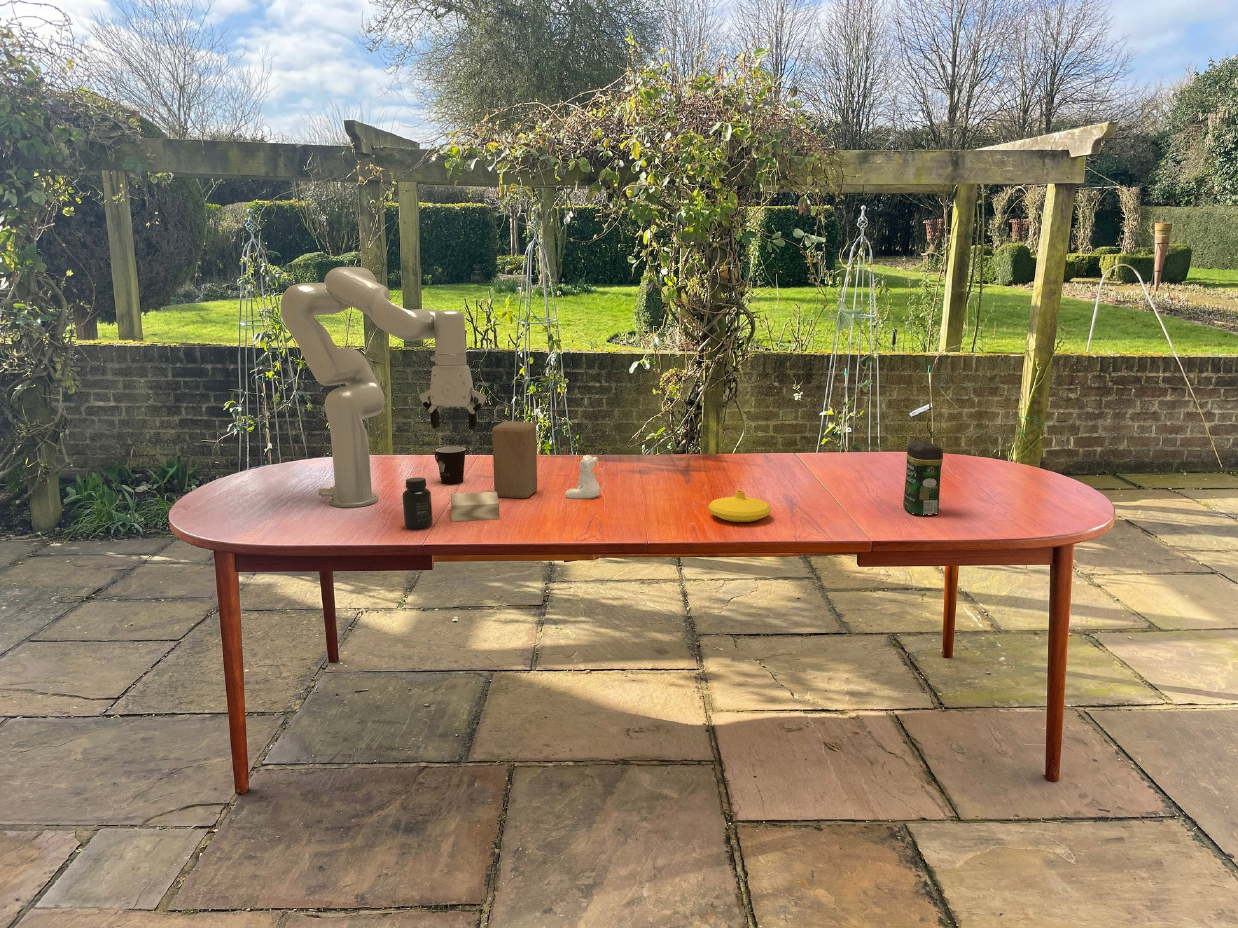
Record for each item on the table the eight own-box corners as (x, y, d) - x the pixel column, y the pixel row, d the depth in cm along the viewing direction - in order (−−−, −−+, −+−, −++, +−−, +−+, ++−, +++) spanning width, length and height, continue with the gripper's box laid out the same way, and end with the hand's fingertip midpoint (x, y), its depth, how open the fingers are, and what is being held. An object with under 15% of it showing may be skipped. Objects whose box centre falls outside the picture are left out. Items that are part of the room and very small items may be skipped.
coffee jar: (898, 507, 228) (903, 438, 224) (928, 506, 228) (933, 438, 224) (911, 517, 219) (917, 446, 214) (942, 517, 219) (948, 445, 215)
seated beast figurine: (582, 490, 246) (582, 449, 243) (608, 494, 241) (607, 452, 239) (563, 497, 238) (563, 455, 235) (589, 502, 234) (589, 459, 231)
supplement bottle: (435, 522, 215) (432, 475, 212) (430, 530, 208) (427, 482, 205) (407, 522, 214) (404, 476, 212) (401, 530, 208) (398, 482, 205)
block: (527, 499, 236) (526, 428, 232) (493, 497, 238) (490, 426, 234) (538, 490, 246) (536, 421, 241) (505, 488, 248) (503, 420, 243)
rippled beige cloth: (451, 521, 216) (450, 505, 215) (451, 508, 227) (450, 494, 226) (499, 518, 218) (499, 503, 217) (497, 506, 229) (496, 491, 228)
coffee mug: (469, 484, 253) (468, 451, 251) (440, 487, 250) (438, 453, 248) (461, 475, 264) (460, 443, 261) (433, 478, 261) (431, 446, 258)
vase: (722, 529, 209) (723, 501, 207) (698, 512, 224) (699, 486, 222) (781, 524, 213) (782, 496, 212) (754, 507, 228) (755, 482, 226)
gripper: (412, 361, 211) (415, 430, 215) (479, 362, 208) (481, 432, 212) (424, 358, 218) (427, 424, 222) (489, 359, 215) (491, 426, 219)
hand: (454, 428), depth 217 cm, fingers open, 9 cm apart
